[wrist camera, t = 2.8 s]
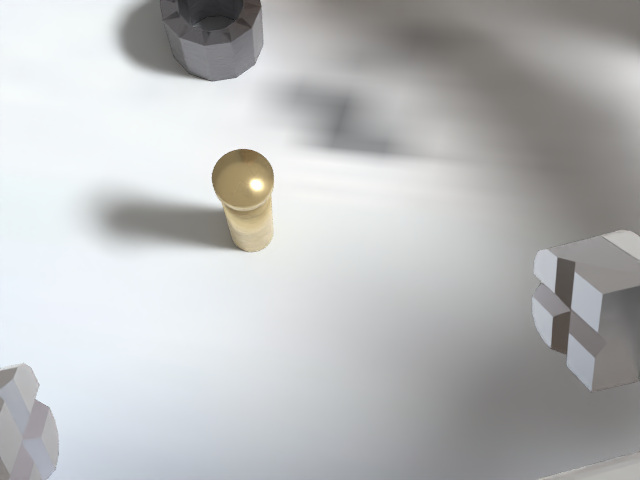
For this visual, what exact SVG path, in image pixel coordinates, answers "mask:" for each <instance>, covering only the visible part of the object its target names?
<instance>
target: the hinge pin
mask: <svg viewBox="0 0 640 480" xmlns="http://www.w3.org/2000/svg"><path fill="white" fill-rule="evenodd" d="M212 183H213V187H214V190H215V193H216V195H217V197H218V199H219V200H220V201H221V202H222V205H223V209H224V212H225V216H226V219H227V223H228V226H229V230H230V233H231V237H232V240H233V242H234V243H235V244H236V246H237V247H239V248H240V249H242V250H244V251H247V252H256V251H260V250H262V249H264V248H265V247H266V246H267V245H268V244H269V243H270V241H271V239H272V237H273V218H272V201H271V193H272V191H273V187H274V175H273V170H272V167H271V165H270V163H269V162H268V160H267V159H266V158H265V157H264V156H263V155H261V154H260V153H258V152H255V151H253V150H248V149H238V150H234V151H231V152H229V153H227V154H225V155H224V156H222V157H221V158H220V159H219V160H218V162H217V163H216V165H215V167H214V169H213V173H212Z"/></svg>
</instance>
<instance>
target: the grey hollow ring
mask: <svg viewBox="0 0 640 480" xmlns="http://www.w3.org/2000/svg"><path fill="white" fill-rule="evenodd" d="M160 4H161V11H162V17H163V22H164V26H165V29H166V32H167V35H168V39H169V42H170V45H171V49H172V52H173V55H174V58H175V59H176V60H177V61H178V62H179V63H180V64H181V65H182V66H183V67H184V68H185V70H186V71H187V72H188V73H189V74H192V75H195V76H198V77H201V78H204V79H207V80H210V81H216V80H223V79H230V78H237V77H238V76H239V75H241V74H242V73H243V72H245V71H246V70H248V69H249V68H250V67H252V66H253V65H255V63H256V61H257V58H258V56H259V54H260V51H261V49H262V47H263V28H262V11H261V3H260V0H160ZM218 15H221V16H225V17H228V18H231V19H234V20H236V21H234V22H233V23H231V24H230V25H228V26H227V27H226V28H224V29H216V30H209V31H206V30H203V29H200V28H196V27H193V25H195V24H196V23H197V22H199V21H200V20H202V19H203V18H205V17H211V16H218Z"/></svg>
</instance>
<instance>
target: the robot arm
mask: <svg viewBox="0 0 640 480" xmlns="http://www.w3.org/2000/svg"><path fill="white" fill-rule="evenodd" d="M533 273H534V275H535V276H536V277H537V278H538V279H539V280H540V282H541V284H540V285H539V287H538V288H537V290H536V291H535V293H534V294H533V296H532V315H533V318H534V322H535V325H536V329H537V330H538V332H539V334H540V336H541V338H542V339H543V340H544V342H545V343H546V344H547V345H548V346H549V347H550V348H551V349H553V350H556V351H558V352H561V353H563V354H566V355H567V364H566V366H567V367H568V368H569V369H570V370H571V371H572V372H573V373H574V374H575V375H576V376H577V377H578V379H579V380H580V381H581V382H582V383H583V384H584V385H585V386H586V387H587V388H588V389H589V390H590V391H591V392H594V391H599V390H603V389H608V388H612V387H616V386H621V385H625V384H630V383H634V382H638V381H640V236H638V235H637V234H635V233H633V232H632V231H628V230H618V231H614V232H610V233H606V234H603V235H599V236H595V237H592V238H588V239H584V240H580V241H576V242H572V243H568V244H564V245H560V246H556V247H551V248H547V249H543V250H539V251H538V252H537V254H536V257H535V259H534V272H533ZM38 388H39V383H38V381H37V379H36V377H35V374H34V372H33V370H32V368H31V367H29V366H28V365H26V364H24V363H22V364H17V365H12V366H7V367H2V368H0V480H46V479H47V478H48V477H49V476H50V475H51V474H52V473H53V472H54V471H55V470H56V465H57V460H58V456H59V439H58V431H57V427H56V423H55V419H54V417H53V415H52V412H51V410H50V407H48V406H46V405H44V404H43V403H41V402H39V401H37V400H36V399H35V398H36V394H37V391H38ZM536 480H640V451H638V452H634V453H631V454H627V455H624V456H620V457H616V458H613V459H609V460H605V461H602V462H598V463H594V464H591V465H587V466H583V467H580V468H576V469H572V470H569V471H565V472H562V473H558V474H554V475H551V476H547V477H543V478H540V479H536Z"/></svg>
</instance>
